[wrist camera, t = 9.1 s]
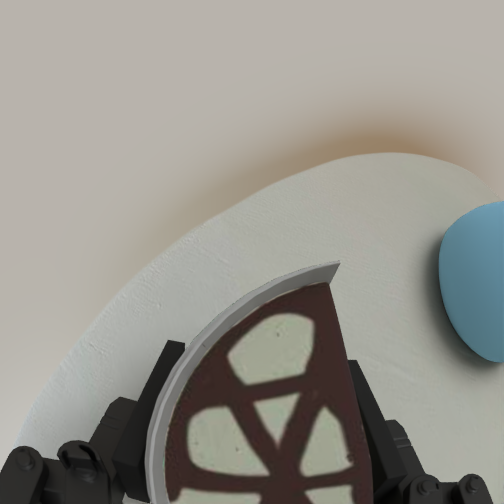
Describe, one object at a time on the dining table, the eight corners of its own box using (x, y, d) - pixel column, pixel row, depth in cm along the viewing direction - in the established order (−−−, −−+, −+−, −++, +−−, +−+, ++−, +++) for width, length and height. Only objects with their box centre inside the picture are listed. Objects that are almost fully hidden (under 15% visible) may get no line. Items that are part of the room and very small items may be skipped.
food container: (177, 343, 16) (113, 266, 7) (282, 332, 17) (334, 243, 8) (207, 534, 10) (184, 636, 1) (314, 519, 11) (391, 601, 2)
